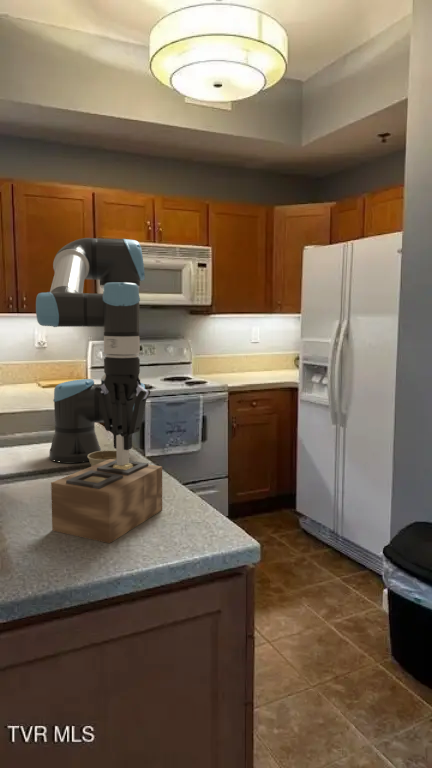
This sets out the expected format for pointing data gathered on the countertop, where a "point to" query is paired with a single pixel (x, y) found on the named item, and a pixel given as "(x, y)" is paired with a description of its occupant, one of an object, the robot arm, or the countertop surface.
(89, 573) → the countertop surface
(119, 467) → the peg
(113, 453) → the flower pot
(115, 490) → the socket block
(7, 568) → the countertop surface
